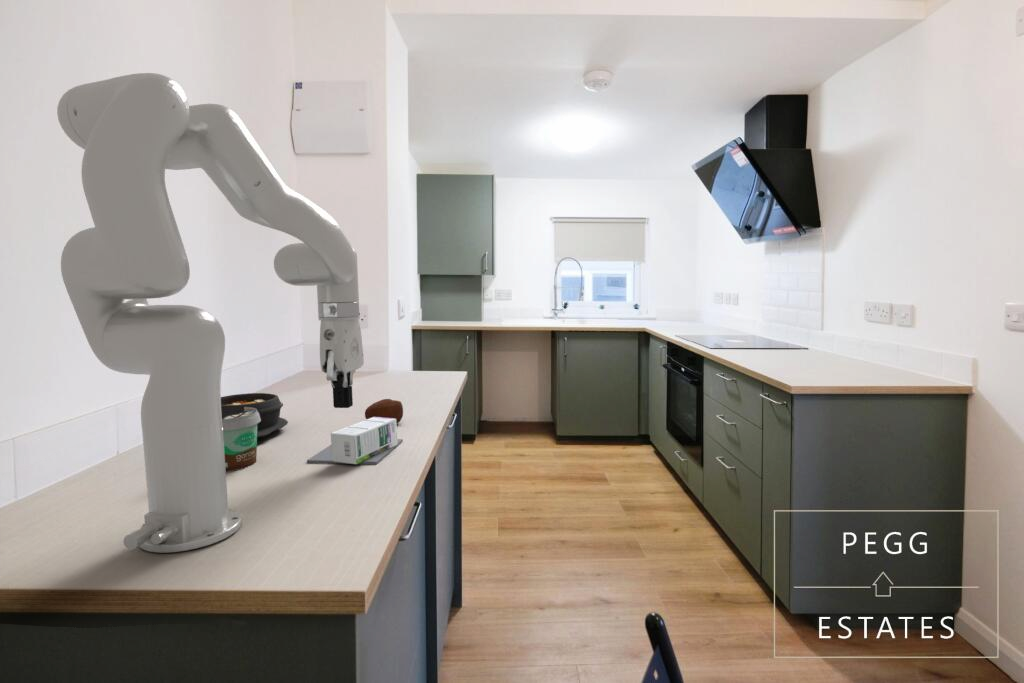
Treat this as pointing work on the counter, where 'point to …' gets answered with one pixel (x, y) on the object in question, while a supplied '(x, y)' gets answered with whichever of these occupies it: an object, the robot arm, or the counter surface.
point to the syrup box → (363, 440)
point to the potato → (385, 410)
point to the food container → (240, 438)
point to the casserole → (265, 406)
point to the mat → (326, 457)
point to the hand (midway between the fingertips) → (343, 406)
